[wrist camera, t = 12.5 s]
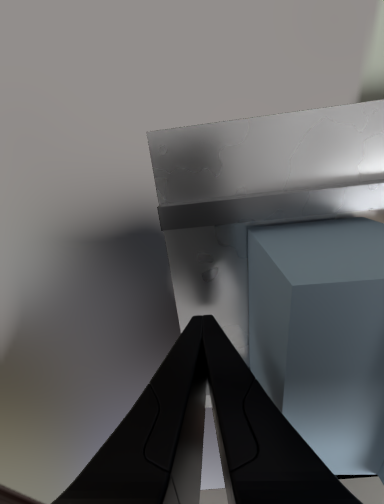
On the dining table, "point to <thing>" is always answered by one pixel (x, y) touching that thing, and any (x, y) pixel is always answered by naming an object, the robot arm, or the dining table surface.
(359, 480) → the recessed light fixture
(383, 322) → the block
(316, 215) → the seat jig
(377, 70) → the dining table surface
